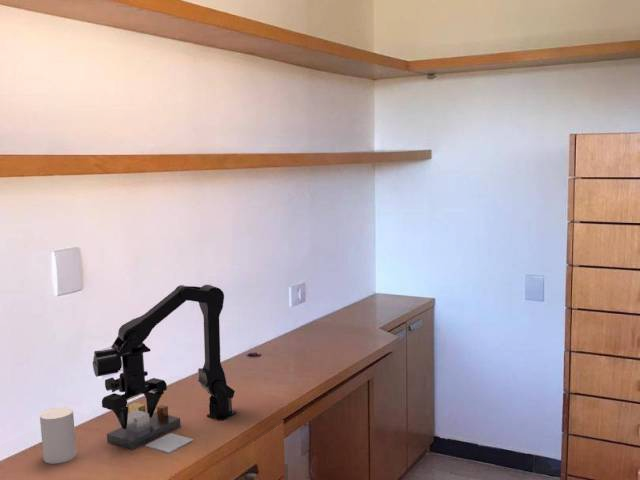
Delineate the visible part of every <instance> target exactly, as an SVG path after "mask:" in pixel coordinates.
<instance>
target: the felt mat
mask: <svg viewBox="0 0 640 480" xmlns="http://www.w3.org/2000/svg"><path fill="white" fill-rule="evenodd" d="M191 441H192V442H194V439H192V438H190V437H186V436H182V435H180V434H176V433H171V432H168V433H166V434H164V435H162V436H160V437H158V438H156V439H154V440H152V441H150V442H148V443H146V444H145V447H147V448H150V449H153V450H156V451H161V452H163V453H165V454H166V453H167V454H171V453H173V452H176V451H177V450H179V449H181V448H182V446H183V447H184V445H185V446H186V445H188V444H190V443H192V442H191ZM189 442H190V443H189ZM187 443H188V444H187ZM180 447H181V448H180Z"/></svg>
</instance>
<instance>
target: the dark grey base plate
mask: <svg viewBox="0 0 640 480" xmlns="http://www.w3.org/2000/svg"><path fill="white" fill-rule="evenodd" d="M149 421H150V427H148V428H146V429H144V430H142V431H140V432H138V433H137V432H134V431H130V430H127V429H123V428H122V426H121V427H119V428H116V429H115V430H112V431H109V432H108V433H106V441H107V443H108V444H111V445H113V446H117V447H119V448H120V447H121V448H123V449H126V450H131V451H133V450H135V449H137V448H139V447H141V446H143V445H147V444H149V443H151V442H153V441H155V440H157V439H159V438H161V437H163V436H165V435H167V434H169V433H171V432H173V431H174V430H176V429H179V428H180V427H181V426H182V425H181V418H180V417H177V416H173V415H170V414H169V406H167V405H165V404H161V405H157V406H156V411H154V413H153V416H152V417H151V418H149Z"/></svg>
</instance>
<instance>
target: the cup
mask: <svg viewBox="0 0 640 480" xmlns="http://www.w3.org/2000/svg"><path fill="white" fill-rule="evenodd" d="M39 421H40V423H39V424H40V433H41V441H42V442H41V444H42V454H43V455H42V456H43V461H44V462H45V463H47V464H53V465H54V464H61V463H66V462H68V461H71V460H73V459H75V457H76V456H77V454H78V451H77V442H76V429H75V419H74V409H73V408H71V407H67V406H63V407H54V408H49V409H47V410H45V411H43V412H41V413H40V414H39Z"/></svg>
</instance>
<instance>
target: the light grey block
mask: <svg viewBox="0 0 640 480" xmlns="http://www.w3.org/2000/svg"><path fill="white" fill-rule="evenodd" d="M148 427H150V421H149V413H147V411H145V412H142V411H139V410H136V411H133V412H131V413H130V412H128V420H127V428H126V429H127V430H130V431H134V432H137V433H138V432H140V431H142V430H144V429H146V428H148Z"/></svg>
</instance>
